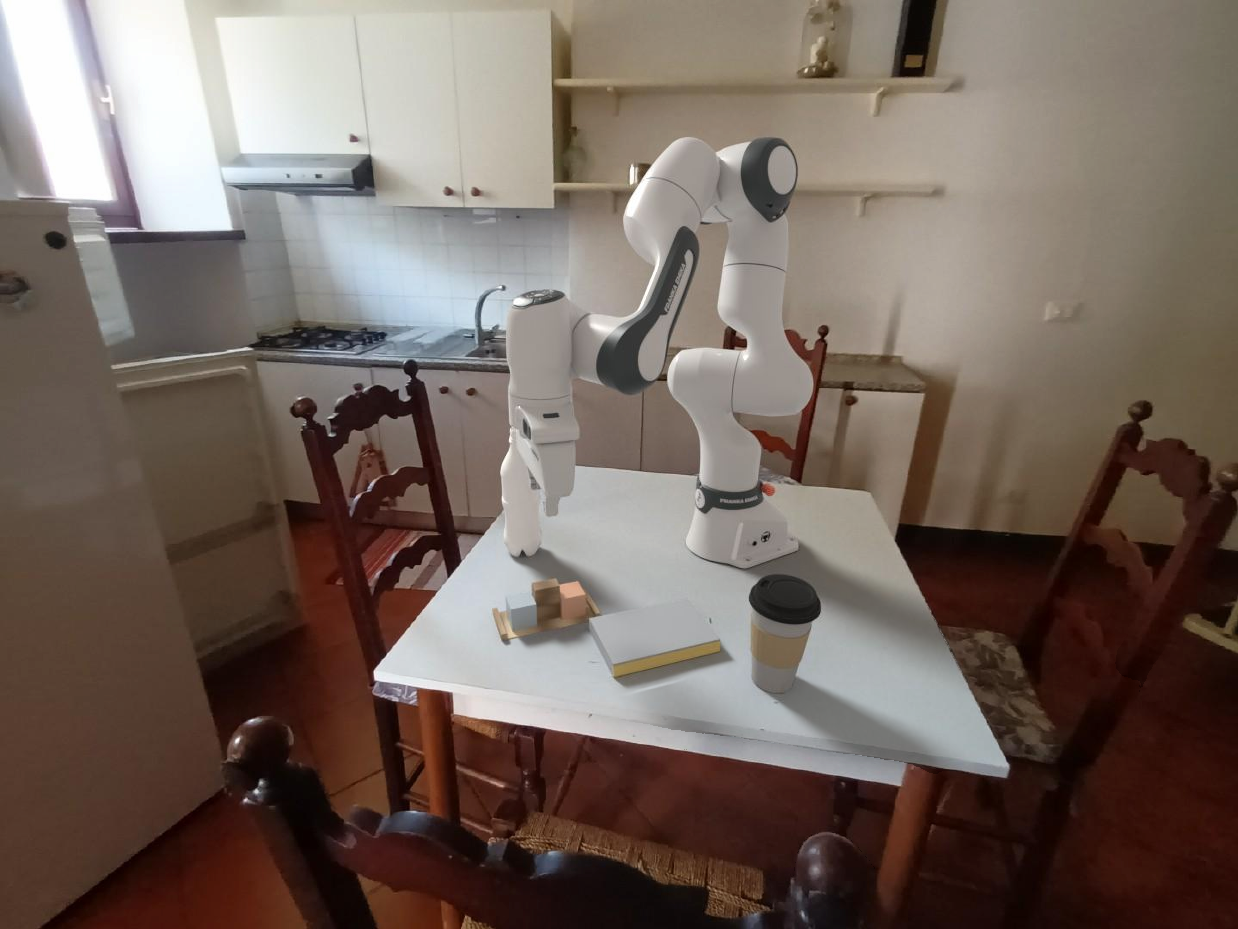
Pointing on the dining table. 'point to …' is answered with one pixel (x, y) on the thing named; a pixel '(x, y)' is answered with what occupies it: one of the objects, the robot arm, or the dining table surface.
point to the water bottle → (519, 504)
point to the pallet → (544, 624)
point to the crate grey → (521, 610)
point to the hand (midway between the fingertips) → (542, 500)
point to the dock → (652, 636)
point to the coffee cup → (780, 629)
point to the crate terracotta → (572, 600)
